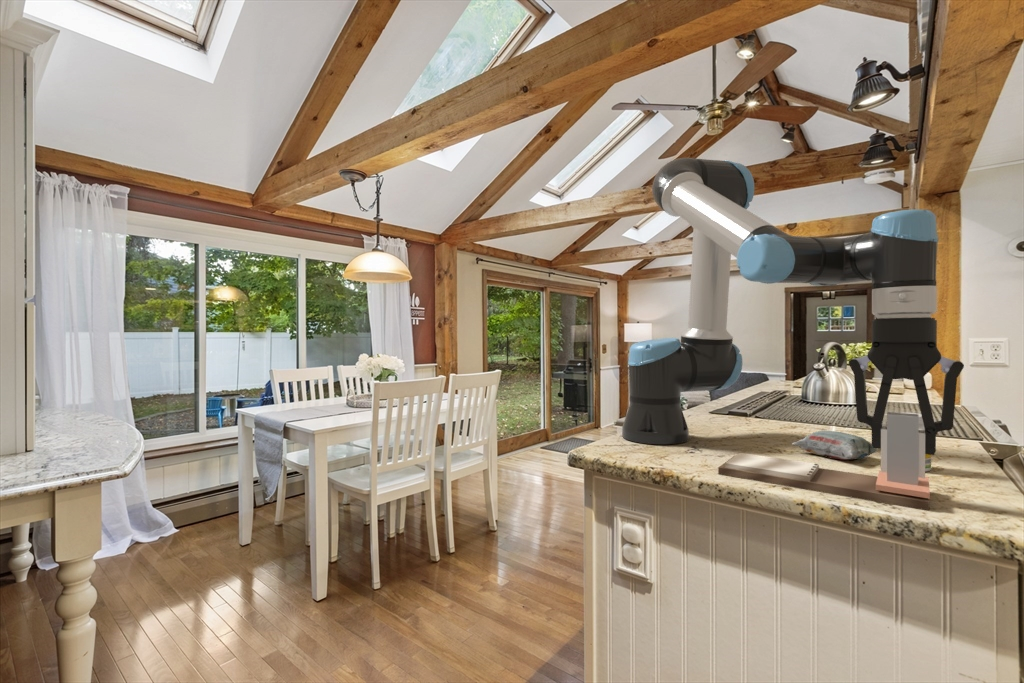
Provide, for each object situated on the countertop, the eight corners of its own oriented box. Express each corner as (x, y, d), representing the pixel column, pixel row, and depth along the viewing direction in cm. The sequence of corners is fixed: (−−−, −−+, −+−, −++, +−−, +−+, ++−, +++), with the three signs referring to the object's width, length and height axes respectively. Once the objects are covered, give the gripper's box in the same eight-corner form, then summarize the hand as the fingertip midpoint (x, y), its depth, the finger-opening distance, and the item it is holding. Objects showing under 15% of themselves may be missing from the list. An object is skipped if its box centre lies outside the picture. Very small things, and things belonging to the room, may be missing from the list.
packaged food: (852, 467, 88) (852, 440, 88) (790, 453, 99) (791, 429, 99) (879, 462, 92) (880, 436, 91) (817, 448, 102) (818, 425, 102)
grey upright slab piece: (875, 489, 71) (875, 416, 70) (879, 475, 77) (879, 408, 77) (929, 498, 67) (929, 421, 66) (928, 482, 74) (928, 412, 73)
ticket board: (718, 474, 84) (718, 462, 84) (734, 461, 92) (734, 450, 92) (929, 510, 66) (929, 495, 66) (927, 491, 74) (927, 477, 74)
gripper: (832, 318, 74) (832, 468, 75) (984, 314, 63) (982, 490, 64) (839, 318, 80) (838, 458, 80) (978, 315, 69) (977, 477, 69)
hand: (902, 472), depth 72 cm, fingers closed on grey upright slab piece, 4 cm apart
